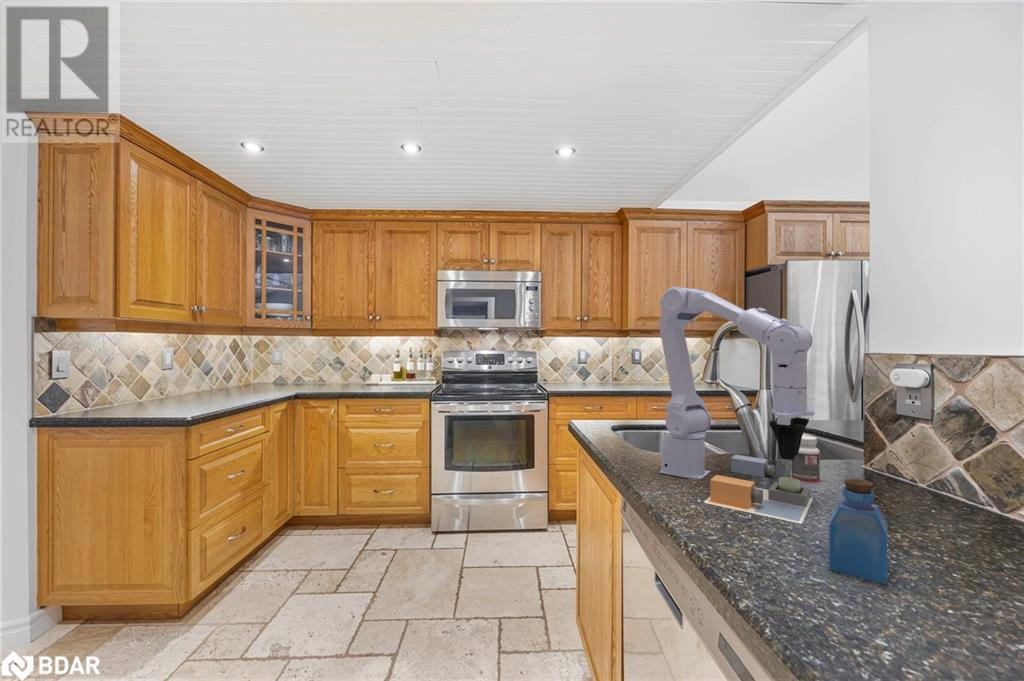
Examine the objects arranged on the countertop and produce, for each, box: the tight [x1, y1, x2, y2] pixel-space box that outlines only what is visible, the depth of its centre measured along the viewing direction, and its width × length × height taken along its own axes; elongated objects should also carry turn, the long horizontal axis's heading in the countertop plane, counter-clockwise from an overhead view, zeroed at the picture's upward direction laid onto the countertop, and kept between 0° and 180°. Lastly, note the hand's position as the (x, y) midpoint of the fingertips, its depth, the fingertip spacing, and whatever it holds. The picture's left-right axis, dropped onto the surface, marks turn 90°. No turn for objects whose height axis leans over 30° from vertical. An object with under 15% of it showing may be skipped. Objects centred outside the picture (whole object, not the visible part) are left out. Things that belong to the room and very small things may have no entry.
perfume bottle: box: [828, 478, 888, 586], centre depth 63 cm, size 6×6×12 cm
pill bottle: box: [789, 434, 821, 484], centre depth 102 cm, size 6×6×10 cm
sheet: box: [703, 487, 814, 525], centre depth 88 cm, size 16×16×1 cm
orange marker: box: [709, 474, 763, 509], centre depth 87 cm, size 8×4×4 cm, turn 51°
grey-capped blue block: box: [730, 454, 775, 478], centre depth 106 cm, size 8×4×4 cm, turn 49°
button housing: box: [767, 481, 811, 507], centre depth 89 cm, size 6×6×2 cm
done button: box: [778, 476, 801, 493], centre depth 89 cm, size 4×4×2 cm
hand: (789, 456), depth 89 cm, fingers open, 4 cm apart
